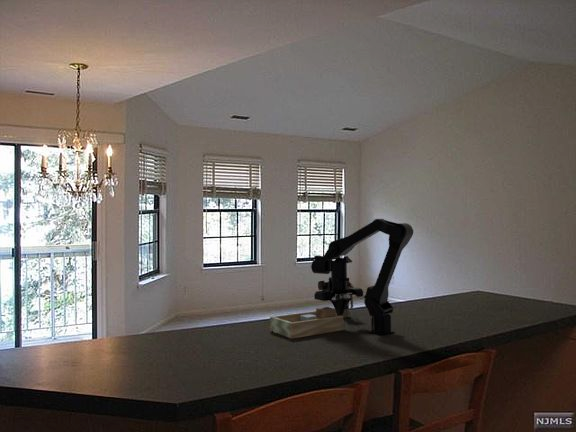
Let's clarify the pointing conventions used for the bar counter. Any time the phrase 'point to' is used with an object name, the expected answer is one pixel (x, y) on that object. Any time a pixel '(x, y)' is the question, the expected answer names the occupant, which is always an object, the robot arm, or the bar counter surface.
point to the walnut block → (325, 312)
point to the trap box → (304, 325)
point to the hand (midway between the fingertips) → (339, 317)
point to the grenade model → (346, 312)
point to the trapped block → (307, 317)
